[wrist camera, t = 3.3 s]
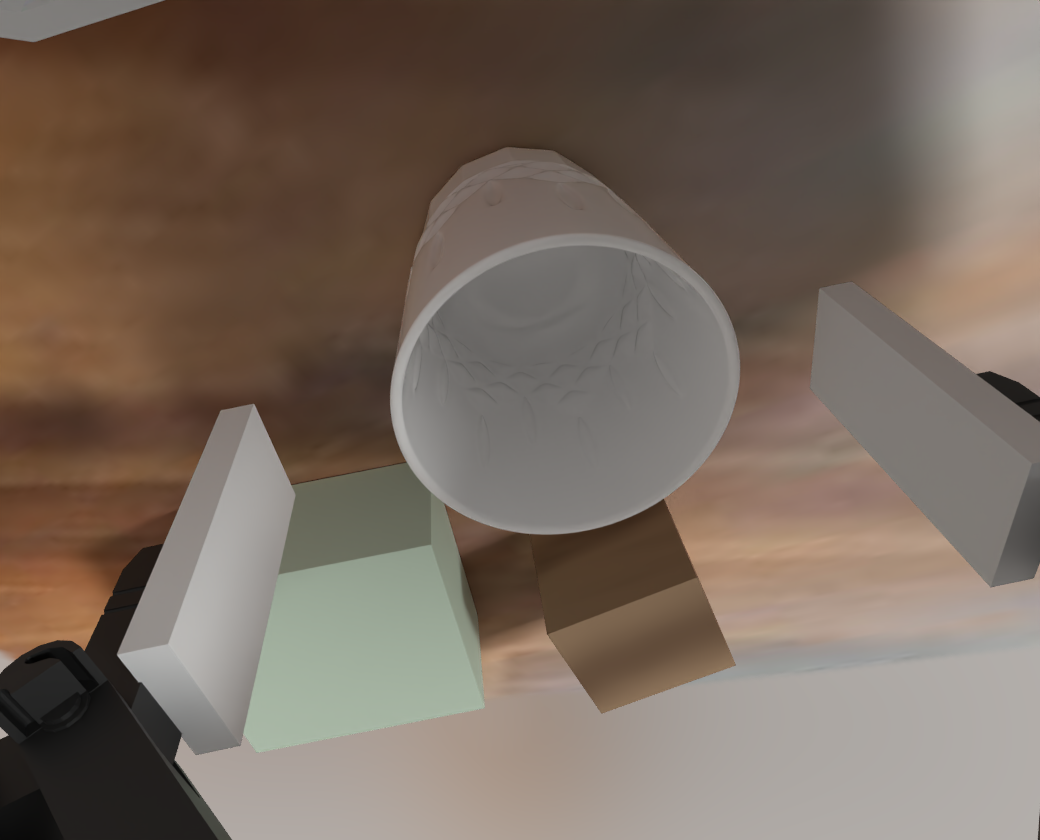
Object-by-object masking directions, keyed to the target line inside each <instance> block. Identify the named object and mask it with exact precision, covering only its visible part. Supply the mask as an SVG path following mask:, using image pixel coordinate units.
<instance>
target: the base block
mask: <svg viewBox="0 0 1040 840" xmlns="http://www.w3.org/2000/svg"><path fill="white" fill-rule="evenodd" d="M291 486H292V488H293V490H294V492H295V494H296V496H295V500H294V505H293V509H292V514H291V518H290V523H289V527H288V532H287V537H286V541H285V546H284V550H283V555H282V559H281V564H280V568H279V573H278V577H277V582H276V587H275V591H274V596H273V600H272V605H271V609H270V614H269V618H268V623H267V627H266V632H265V637H264V641H263V646H262V650H261V655H260V659H259V664H258V668H257V673H256V678H255V682H254V687H253V691H252V696H251V700H250V705H249V709H248V714H247V718H246V723H245V728H244V732H243V734H244V735H245V737H246V738H247V740H248V741H249V743H250V744H251V745H252V747H253V748H254V750H255V751H256V752H257V753H259V752H264V751H269V750H274V749H279V748H284V747H290V746H295V745H300V744H305V743H309V742H315V741H320V740H325V739H330V738H335V737H341V736H346V735H351V734H356V733H361V732H366V731H371V730H376V729H381V728H386V727H392V726H397V725H402V724H407V723H412V722H417V721H422V720H427V719H432V718H437V717H443V716H447V715H453V714H458V713H463V712H468V711H473V710H478V709H483V708H485V704H484V691H483V678H482V665H481V652H480V638H479V625H478V615H477V612H476V608H475V605H474V602H473V598H472V595H471V592H470V588H469V585H468V582H467V578H466V575H465V572H464V568H463V565H462V562H461V558H460V555H459V552H458V548H457V545H456V541H455V538H454V535H453V531H452V528H451V525H450V521H449V518H448V515H447V511H446V508H445V505H444V503H443V502H442V501H441V500H439V499H438V498H437V497H436V496H435V495H433V494H432V493H431V492H430V491H429V490H428V489H427V488H426V487H425V486H424V485H423V484H422V483H421V481H420V480H419V479H418V478H417V477H416V475H415V474H414V473H413V471H412V470H411V468H410V467H409V465H408V463H402V464H397V465H392V466H387V467H382V468H377V469H372V470H366V471H361V472H356V473H351V474H346V475H341V476H336V477H331V478H326V479H321V480H315V481H310V482H305V483H300V484H295V485H291Z"/></svg>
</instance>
